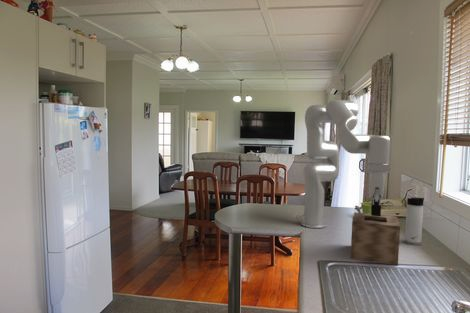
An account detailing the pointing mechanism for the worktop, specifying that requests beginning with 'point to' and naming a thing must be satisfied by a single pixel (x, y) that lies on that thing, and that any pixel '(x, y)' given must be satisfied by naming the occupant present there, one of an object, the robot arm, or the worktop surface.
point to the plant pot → (366, 207)
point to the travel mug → (414, 221)
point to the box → (375, 238)
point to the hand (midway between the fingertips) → (375, 212)
